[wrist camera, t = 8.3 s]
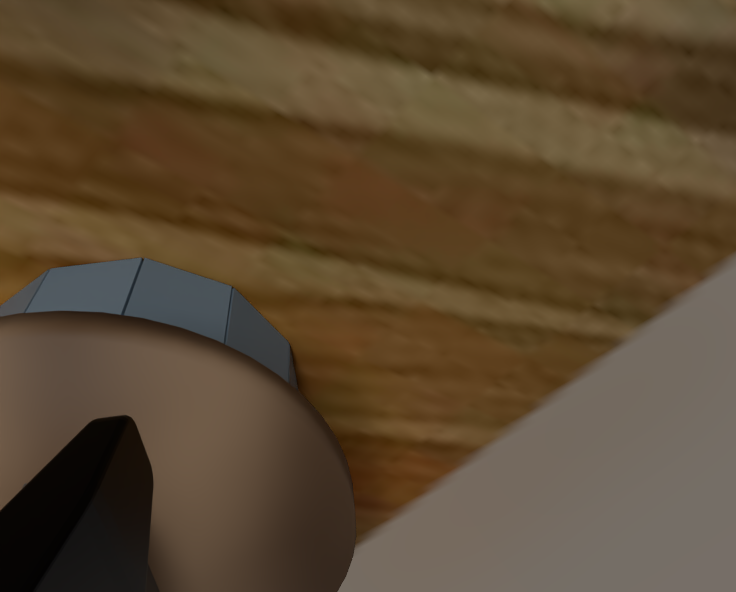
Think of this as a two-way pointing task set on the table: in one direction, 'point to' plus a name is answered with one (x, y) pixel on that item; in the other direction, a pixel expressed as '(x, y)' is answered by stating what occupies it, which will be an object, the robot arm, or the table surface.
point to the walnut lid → (186, 447)
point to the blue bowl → (160, 304)
